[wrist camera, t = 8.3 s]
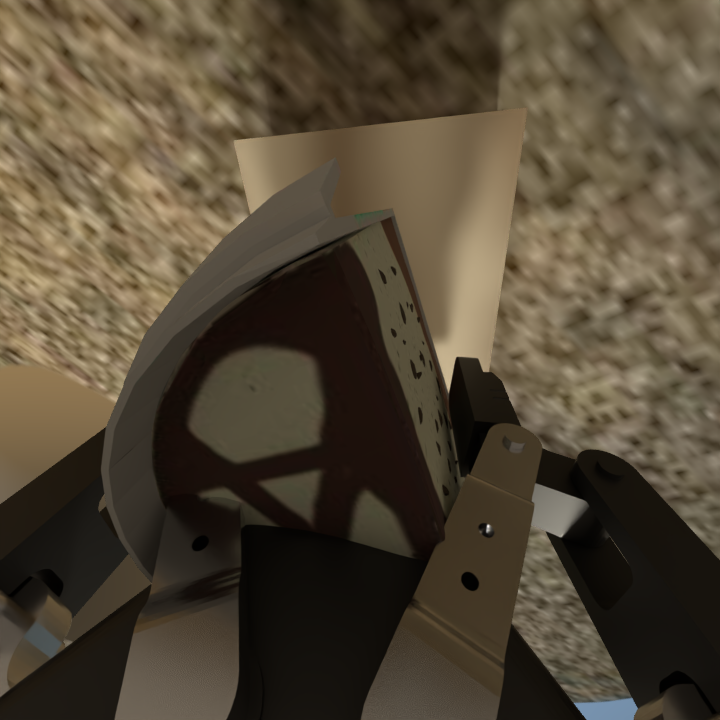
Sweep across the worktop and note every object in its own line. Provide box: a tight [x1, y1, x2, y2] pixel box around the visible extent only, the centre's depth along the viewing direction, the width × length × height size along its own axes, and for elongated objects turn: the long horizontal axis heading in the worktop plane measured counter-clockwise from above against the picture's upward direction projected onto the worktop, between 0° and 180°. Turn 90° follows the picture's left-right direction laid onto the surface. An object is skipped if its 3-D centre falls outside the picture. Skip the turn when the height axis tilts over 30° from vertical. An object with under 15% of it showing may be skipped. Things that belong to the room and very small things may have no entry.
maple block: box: [234, 108, 528, 393], centre depth 18 cm, size 11×16×5 cm
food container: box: [101, 157, 465, 583], centre depth 10 cm, size 12×6×10 cm, turn 21°
